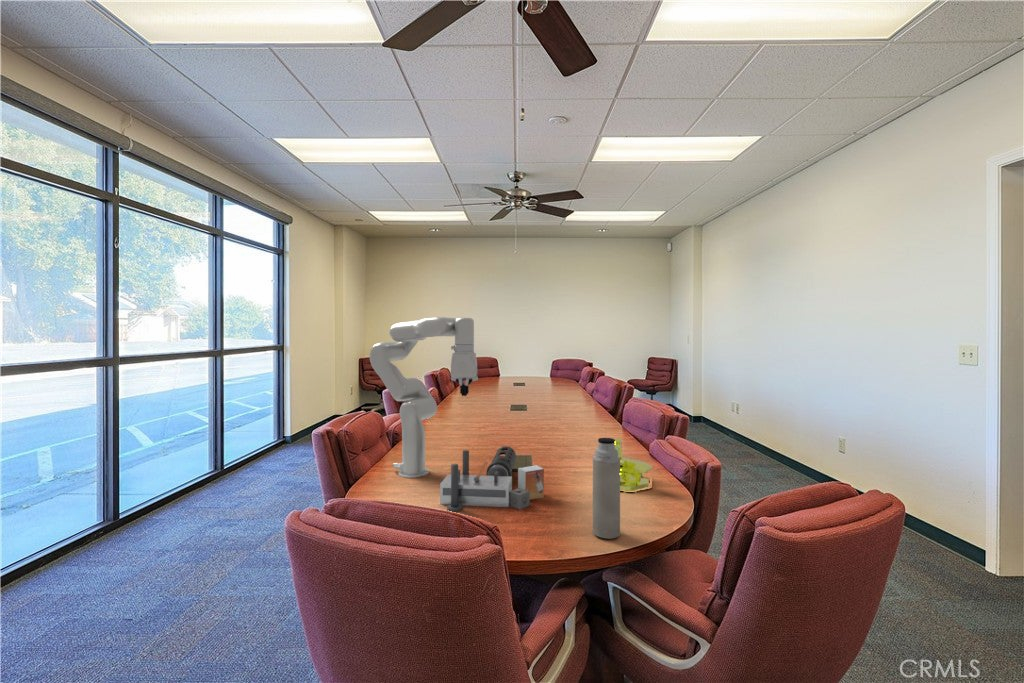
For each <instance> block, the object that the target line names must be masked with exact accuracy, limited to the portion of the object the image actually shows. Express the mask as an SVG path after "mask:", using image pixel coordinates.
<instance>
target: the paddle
mask: <svg viewBox="0 0 1024 683" xmlns="http://www.w3.org/2000/svg"><path fill="white" fill-rule="evenodd" d="M489 462H490V458H488V457H487V458H486V459H485V461H484V462H483V464H482V466H481V468H480V469H479V471H478V473H476V474H475V475H476V476H475V477H474V481H475V482H477V481H478V479H479V478H480V475H481V476H482V474H483V472H484V470H485V468H486V467H487V465H488V463H489Z"/></svg>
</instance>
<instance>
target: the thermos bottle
mask: <svg viewBox="0 0 1024 683" xmlns="http://www.w3.org/2000/svg"><path fill="white" fill-rule="evenodd" d="M615 439H616V438H613V439H612V438H611V437H599V438H598V439H597V441H598V443H597V446H598V447H597V448H595V451H594V455H593V456H592V533H593V534H594V535H595V536H597V537H599V538H602V539H615V538H618V537H619V536H620V535H621V492H620V458H619V457H618V451H617V450H616V449H615V444H614V443H615Z"/></svg>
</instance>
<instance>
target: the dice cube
mask: <svg viewBox="0 0 1024 683" xmlns="http://www.w3.org/2000/svg"><path fill="white" fill-rule="evenodd" d="M509 507H510V508H514V509H517V510H523V509H525V508H528V507H530V491H526V490H523V489H520V488H518V487H517V488H514V489H512V491H510V492H509Z"/></svg>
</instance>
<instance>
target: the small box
mask: <svg viewBox="0 0 1024 683" xmlns="http://www.w3.org/2000/svg"><path fill="white" fill-rule="evenodd" d="M544 485H545V469H544V468H543V467H541V466H539V465H537V464H536V465H529V466H525V467H524V466H523V467H518V469H517V489H518V488H520V489H523V490H526V491H530V500H535V499H543V498H545V497H544V494H545V493H544V492H545V486H544Z"/></svg>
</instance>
